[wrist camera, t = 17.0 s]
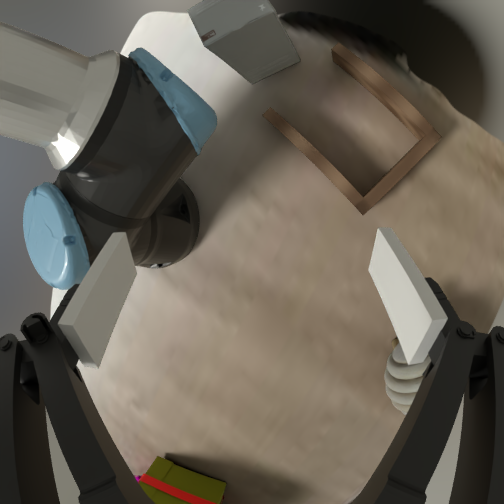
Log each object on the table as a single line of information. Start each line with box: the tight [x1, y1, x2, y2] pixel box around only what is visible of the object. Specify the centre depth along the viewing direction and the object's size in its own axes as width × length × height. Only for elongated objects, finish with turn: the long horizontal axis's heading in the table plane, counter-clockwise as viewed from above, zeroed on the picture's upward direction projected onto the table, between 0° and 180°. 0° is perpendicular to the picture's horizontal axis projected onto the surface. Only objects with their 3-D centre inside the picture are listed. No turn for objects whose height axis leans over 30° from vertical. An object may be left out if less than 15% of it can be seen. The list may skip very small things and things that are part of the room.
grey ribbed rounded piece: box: [385, 339, 431, 415], centre depth 34 cm, size 11×17×11 cm, turn 31°
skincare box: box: [187, 0, 300, 84], centre depth 31 cm, size 8×7×16 cm
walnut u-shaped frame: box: [262, 43, 442, 215], centre depth 35 cm, size 18×14×4 cm
